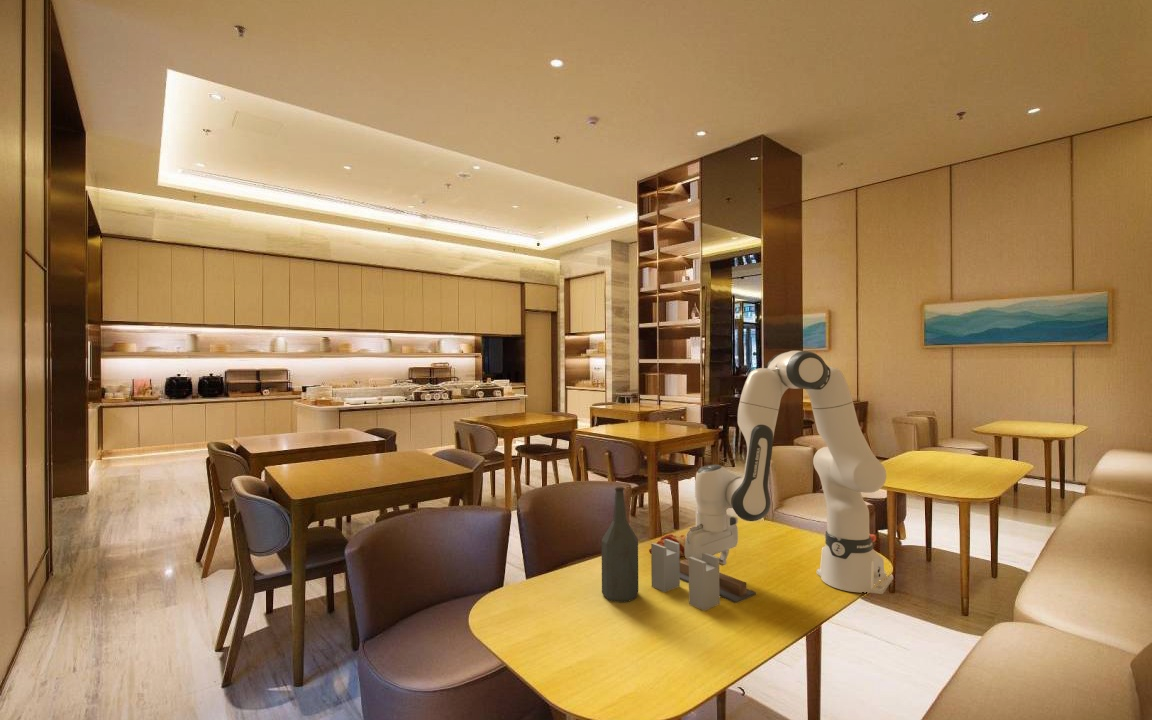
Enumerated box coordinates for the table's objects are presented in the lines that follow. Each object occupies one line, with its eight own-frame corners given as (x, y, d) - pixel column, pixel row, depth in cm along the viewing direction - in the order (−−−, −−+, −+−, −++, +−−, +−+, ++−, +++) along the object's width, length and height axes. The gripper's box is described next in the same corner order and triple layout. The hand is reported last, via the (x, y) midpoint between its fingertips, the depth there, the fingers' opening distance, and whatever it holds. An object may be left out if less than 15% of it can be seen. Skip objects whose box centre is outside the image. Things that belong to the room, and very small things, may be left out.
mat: (689, 567, 165) (689, 565, 165) (755, 594, 145) (755, 592, 145) (669, 574, 159) (669, 572, 159) (736, 603, 140) (736, 601, 140)
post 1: (666, 580, 155) (666, 538, 155) (679, 586, 151) (679, 543, 151) (651, 586, 151) (651, 543, 151) (664, 592, 147) (664, 548, 147)
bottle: (644, 599, 143) (644, 489, 143) (612, 605, 139) (612, 492, 139) (627, 584, 152) (626, 481, 153) (596, 590, 149) (595, 484, 149)
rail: (685, 569, 162) (685, 559, 162) (746, 593, 145) (746, 582, 145) (678, 571, 160) (678, 561, 160) (739, 596, 143) (739, 585, 143)
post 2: (704, 597, 144) (704, 552, 144) (719, 604, 140) (719, 557, 140) (689, 603, 140) (688, 557, 140) (703, 610, 136) (703, 563, 136)
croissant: (693, 555, 185) (686, 532, 188) (711, 549, 177) (704, 525, 181) (645, 565, 175) (639, 540, 178) (662, 559, 167) (655, 534, 170)
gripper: (696, 531, 144) (697, 581, 144) (741, 516, 156) (742, 563, 156) (678, 525, 149) (679, 574, 149) (723, 512, 161) (724, 557, 161)
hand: (712, 568), depth 152 cm, fingers open, 8 cm apart
